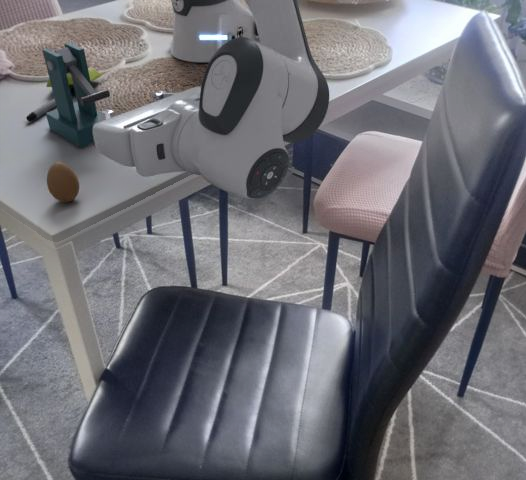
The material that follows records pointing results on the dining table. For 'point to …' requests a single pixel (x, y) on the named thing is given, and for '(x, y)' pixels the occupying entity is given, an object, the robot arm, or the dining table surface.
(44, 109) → the pen
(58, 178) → the egg
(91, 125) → the teal axle stand
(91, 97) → the lever
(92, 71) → the saucer
